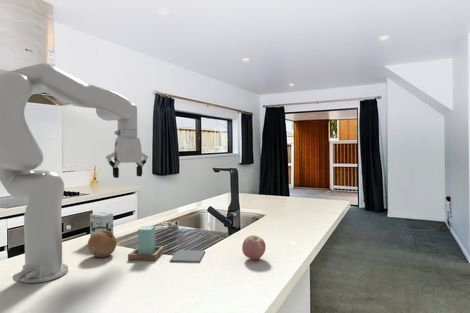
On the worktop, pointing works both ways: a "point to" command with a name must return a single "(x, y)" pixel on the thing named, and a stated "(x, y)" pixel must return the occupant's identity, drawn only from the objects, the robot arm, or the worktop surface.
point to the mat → (187, 256)
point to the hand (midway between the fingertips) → (128, 176)
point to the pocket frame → (146, 255)
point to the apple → (253, 247)
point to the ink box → (101, 222)
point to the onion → (102, 244)
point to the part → (146, 240)
